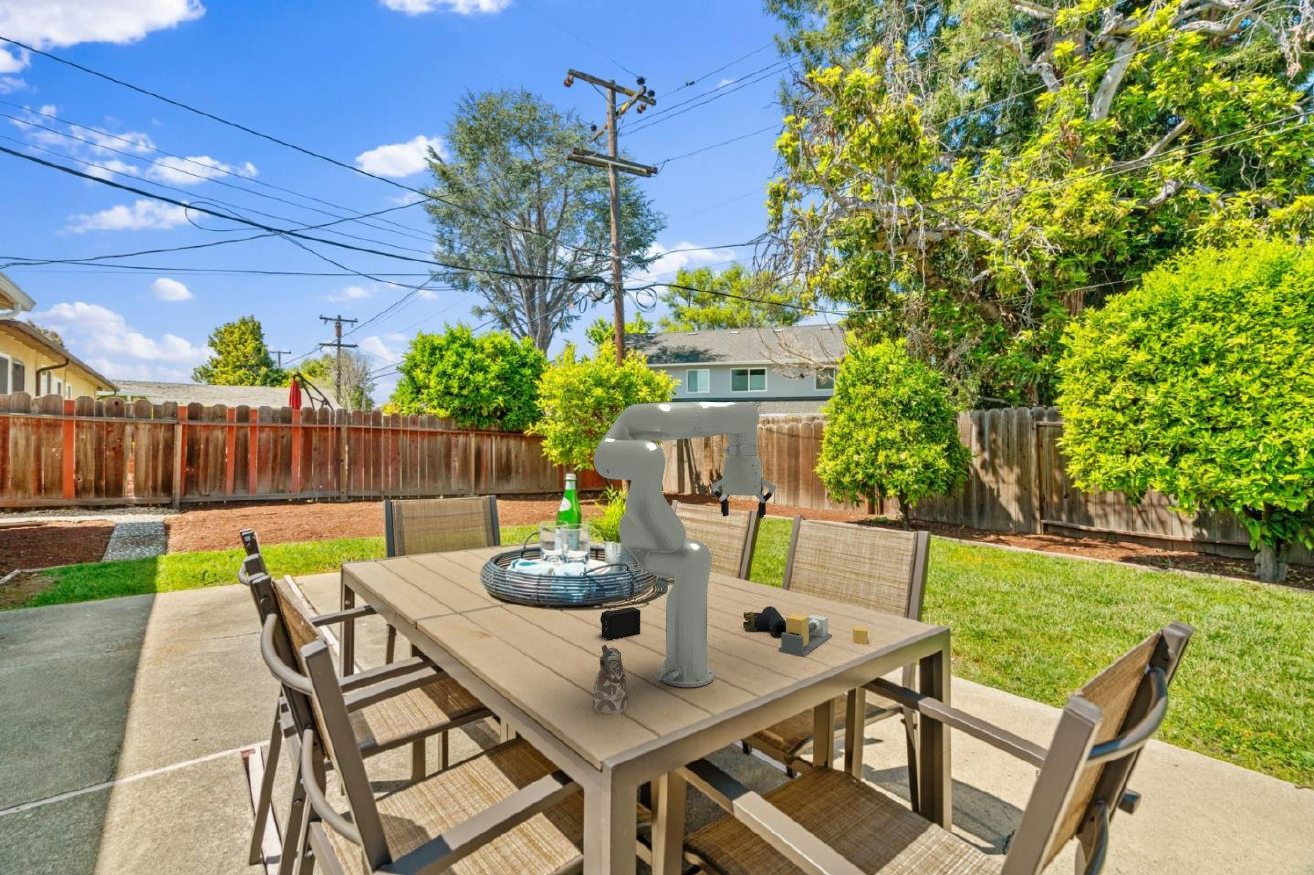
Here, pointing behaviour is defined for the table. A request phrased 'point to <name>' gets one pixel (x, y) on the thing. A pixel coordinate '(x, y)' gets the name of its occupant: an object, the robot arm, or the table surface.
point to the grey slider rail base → (816, 637)
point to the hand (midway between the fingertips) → (743, 516)
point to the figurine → (610, 684)
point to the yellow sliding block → (798, 626)
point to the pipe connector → (765, 621)
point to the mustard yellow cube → (860, 634)
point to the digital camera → (620, 623)
